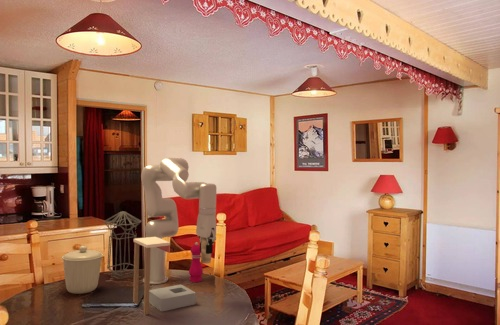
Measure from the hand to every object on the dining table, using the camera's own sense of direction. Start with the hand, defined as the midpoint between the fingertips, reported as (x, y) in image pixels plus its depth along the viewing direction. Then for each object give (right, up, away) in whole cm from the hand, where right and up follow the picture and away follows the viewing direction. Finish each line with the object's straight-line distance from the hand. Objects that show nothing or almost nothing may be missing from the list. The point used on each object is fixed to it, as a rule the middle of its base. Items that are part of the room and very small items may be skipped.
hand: (206, 251), depth 175 cm
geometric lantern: (-49, -21, +35) cm, 64 cm away
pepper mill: (-9, -22, +31) cm, 39 cm away
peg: (0, -5, 0) cm, 5 cm away
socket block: (-15, -22, -3) cm, 26 cm away
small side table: (-23, -21, -9) cm, 32 cm away
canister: (-60, -21, +11) cm, 64 cm away
